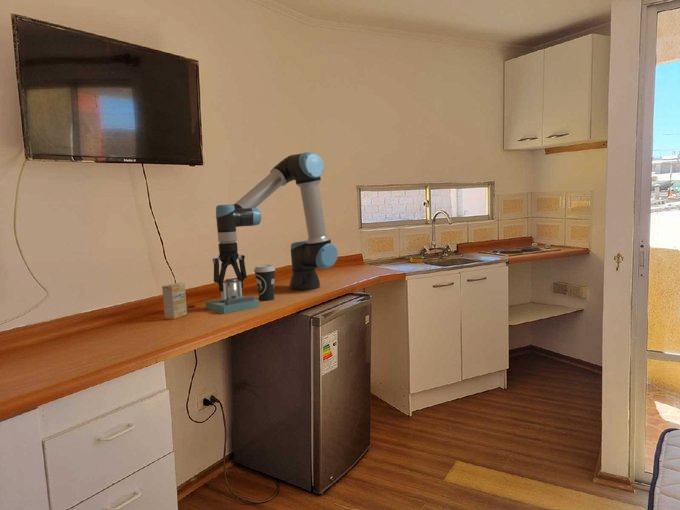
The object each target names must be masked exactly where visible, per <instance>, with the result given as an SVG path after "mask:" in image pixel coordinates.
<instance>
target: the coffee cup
mask: <svg viewBox="0 0 680 510" xmlns="http://www.w3.org/2000/svg"><path fill="white" fill-rule="evenodd" d="M275 271H276V267H275V266H274V265H273V264H261V265H256V266H255V267H254V269H253V272H254V274H255V281H256V286H257V287H256V288H257V293H258V300H259V302H260V301H261V302H269V301H273V300H275Z"/></svg>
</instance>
